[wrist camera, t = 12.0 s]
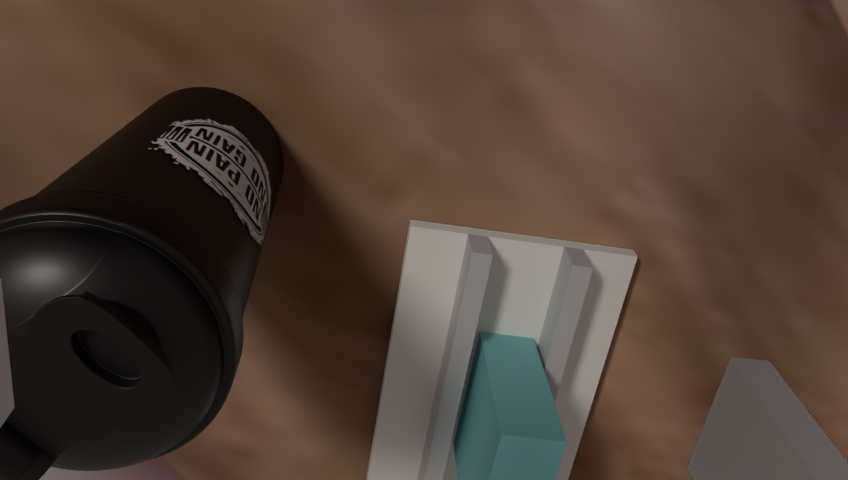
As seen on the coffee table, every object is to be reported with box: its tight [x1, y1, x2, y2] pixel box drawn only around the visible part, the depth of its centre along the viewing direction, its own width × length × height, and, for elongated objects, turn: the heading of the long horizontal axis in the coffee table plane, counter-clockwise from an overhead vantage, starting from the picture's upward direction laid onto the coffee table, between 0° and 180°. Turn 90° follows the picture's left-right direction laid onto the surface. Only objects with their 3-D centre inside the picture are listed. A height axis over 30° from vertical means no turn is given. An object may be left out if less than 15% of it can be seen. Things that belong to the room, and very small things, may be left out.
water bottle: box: [0, 87, 283, 480], centre depth 33 cm, size 10×10×23 cm
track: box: [366, 220, 638, 480], centre depth 47 cm, size 22×14×9 cm, turn 171°
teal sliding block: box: [454, 332, 567, 480], centre depth 45 cm, size 9×4×10 cm, turn 170°
